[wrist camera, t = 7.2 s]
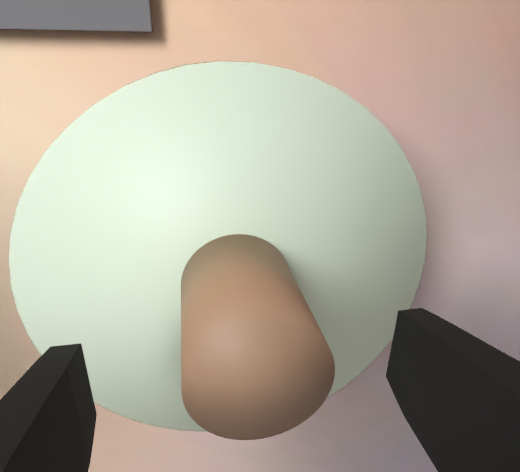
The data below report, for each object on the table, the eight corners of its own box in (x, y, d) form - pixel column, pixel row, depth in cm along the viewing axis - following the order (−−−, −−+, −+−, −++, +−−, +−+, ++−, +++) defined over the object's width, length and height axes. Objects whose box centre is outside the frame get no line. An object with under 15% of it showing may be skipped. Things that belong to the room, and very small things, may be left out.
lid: (74, 438, 14) (29, 605, 10) (-46, 71, 9) (-243, 90, 5) (392, 384, 16) (471, 506, 12) (439, 52, 11) (607, 53, 7)
